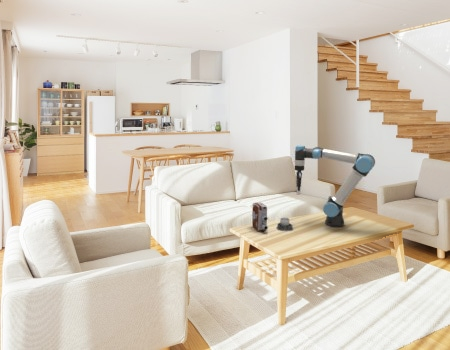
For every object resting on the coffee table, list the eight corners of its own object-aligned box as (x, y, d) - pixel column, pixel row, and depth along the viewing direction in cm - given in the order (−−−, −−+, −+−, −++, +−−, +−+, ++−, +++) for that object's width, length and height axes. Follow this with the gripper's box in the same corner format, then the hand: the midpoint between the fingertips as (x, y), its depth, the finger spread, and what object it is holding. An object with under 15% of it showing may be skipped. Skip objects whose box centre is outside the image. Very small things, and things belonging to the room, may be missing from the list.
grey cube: (288, 226, 308) (288, 217, 307) (289, 229, 301) (290, 220, 300) (279, 226, 308) (279, 217, 307) (280, 229, 301) (281, 219, 300)
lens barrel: (292, 226, 311) (292, 222, 310) (294, 231, 298) (294, 227, 298) (275, 225, 312) (275, 222, 311) (276, 230, 299) (277, 227, 298)
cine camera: (259, 234, 291) (259, 208, 287) (250, 226, 309) (250, 201, 306) (270, 233, 293) (271, 207, 290) (261, 225, 312) (262, 201, 308)
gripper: (293, 163, 316) (292, 192, 320) (295, 166, 303) (294, 196, 307) (303, 164, 315) (302, 192, 319) (305, 166, 302) (304, 196, 306)
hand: (298, 194), depth 313 cm, fingers closed
